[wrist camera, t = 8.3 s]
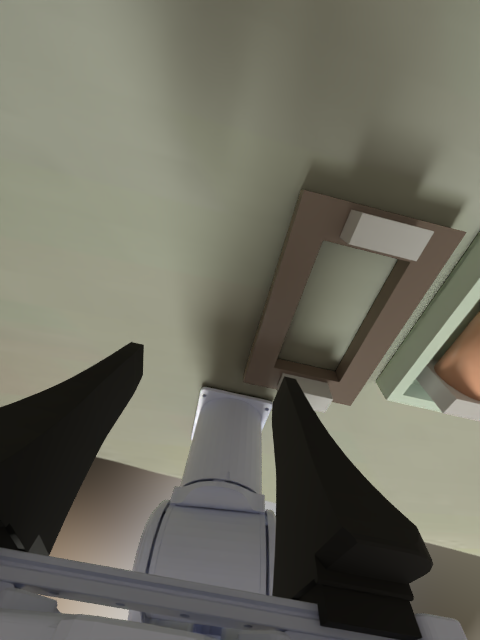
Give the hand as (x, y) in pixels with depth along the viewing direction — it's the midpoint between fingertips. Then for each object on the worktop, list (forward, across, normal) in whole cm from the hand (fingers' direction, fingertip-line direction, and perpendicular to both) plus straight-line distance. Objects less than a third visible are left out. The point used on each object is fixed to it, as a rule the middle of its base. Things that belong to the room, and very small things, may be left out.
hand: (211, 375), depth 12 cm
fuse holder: (+10, -8, 0) cm, 13 cm away
